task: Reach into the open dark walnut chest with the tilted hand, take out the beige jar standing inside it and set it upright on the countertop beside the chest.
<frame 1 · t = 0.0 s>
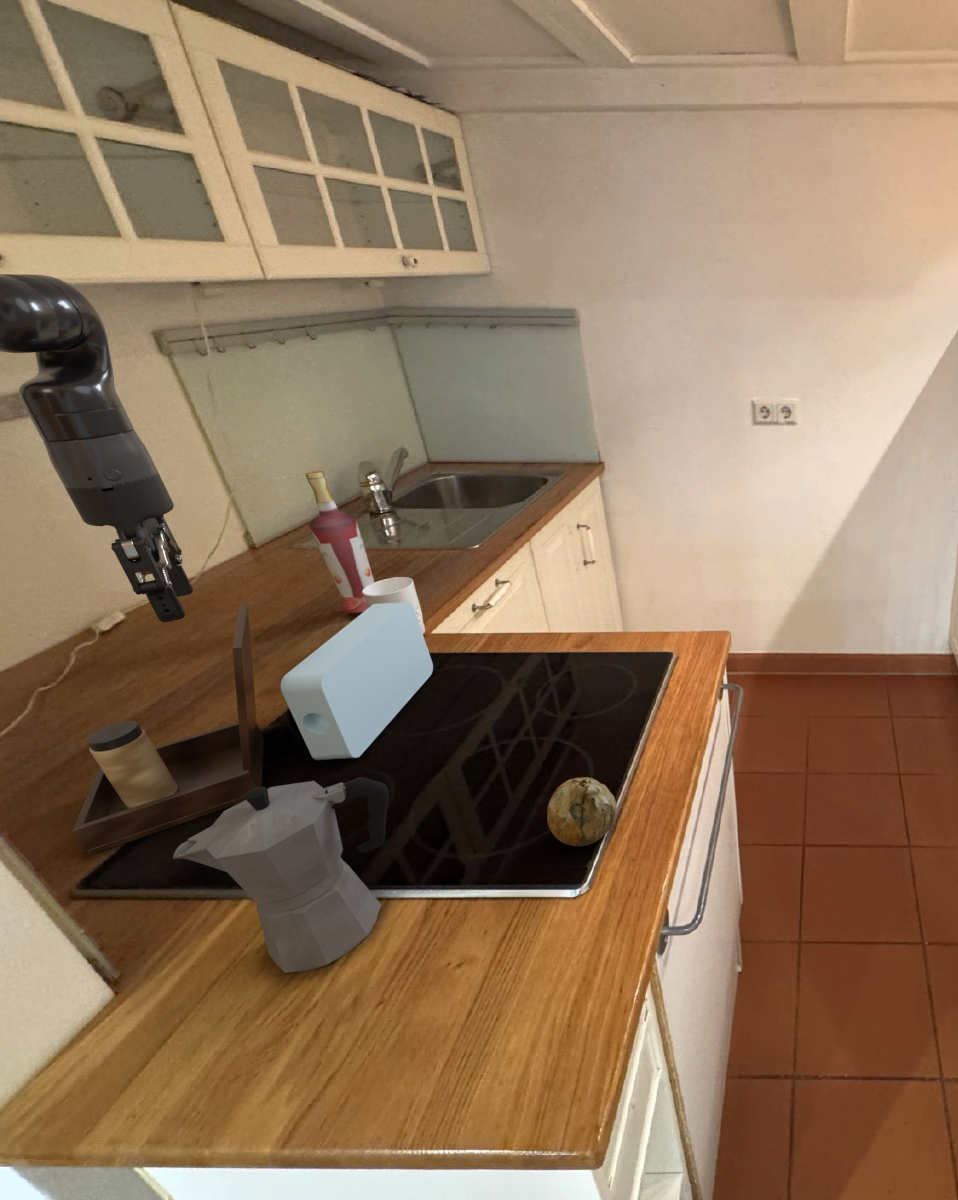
hand: (178, 606, 79), 23 cm above the worktop, tool pointing down, fingers open, 8 cm apart
coffeepot: (342, 926, 65), on the worktop
onion: (589, 832, 75), on the worktop
chest: (187, 791, 84), on the worktop
chest lid: (245, 684, 83), point 12 cm above the worktop, hinge at 105.0°
pale blue rectangular block: (382, 713, 98), on the worktop
beige jar: (152, 796, 82), point 1 cm above the worktop, touching chest
liquor: (366, 611, 130), on the worktop
white cup: (405, 636, 120), on the worktop
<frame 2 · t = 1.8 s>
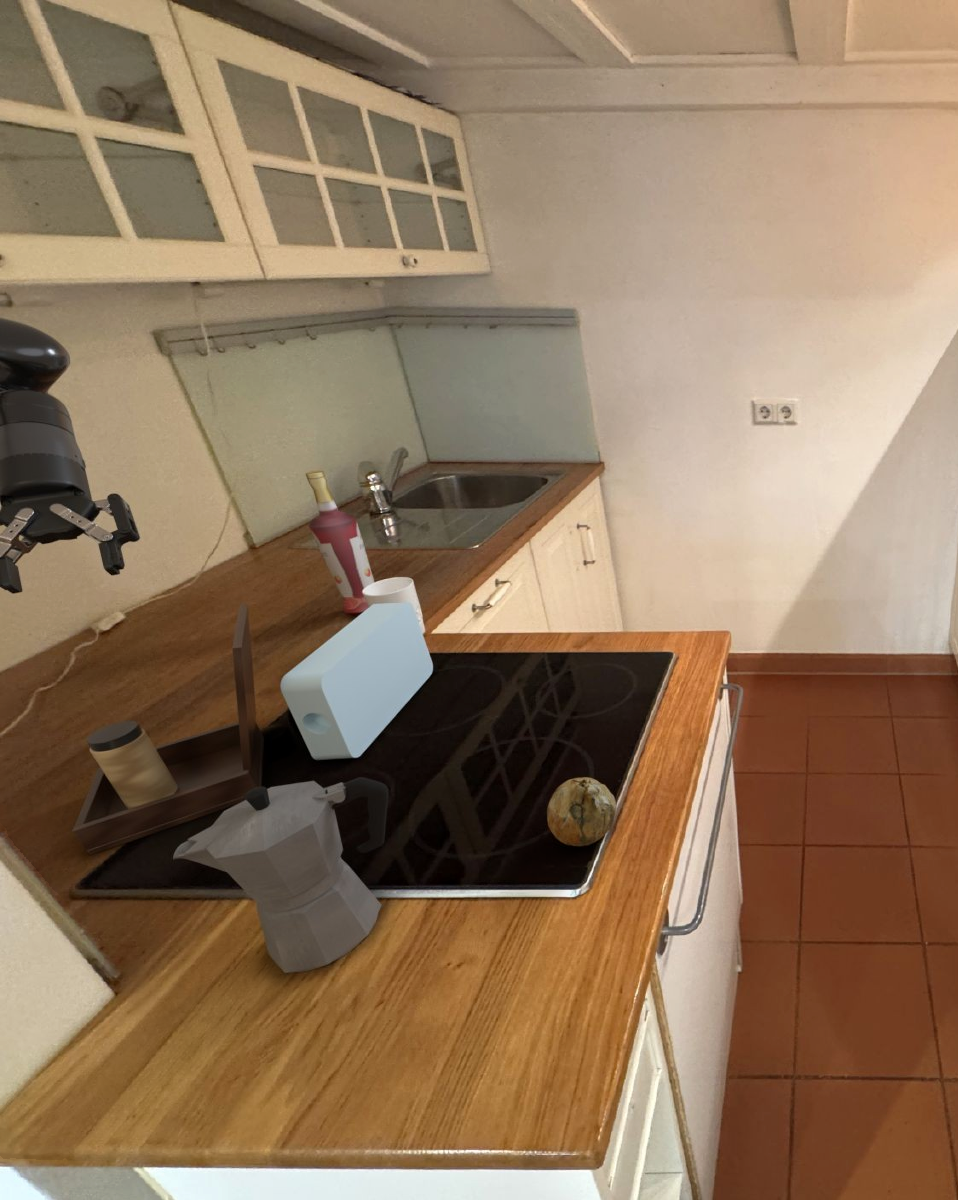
hand: (64, 581, 79), 26 cm above the worktop, tool tilted 45°, fingers open, 8 cm apart
nothing on the worktop moved.
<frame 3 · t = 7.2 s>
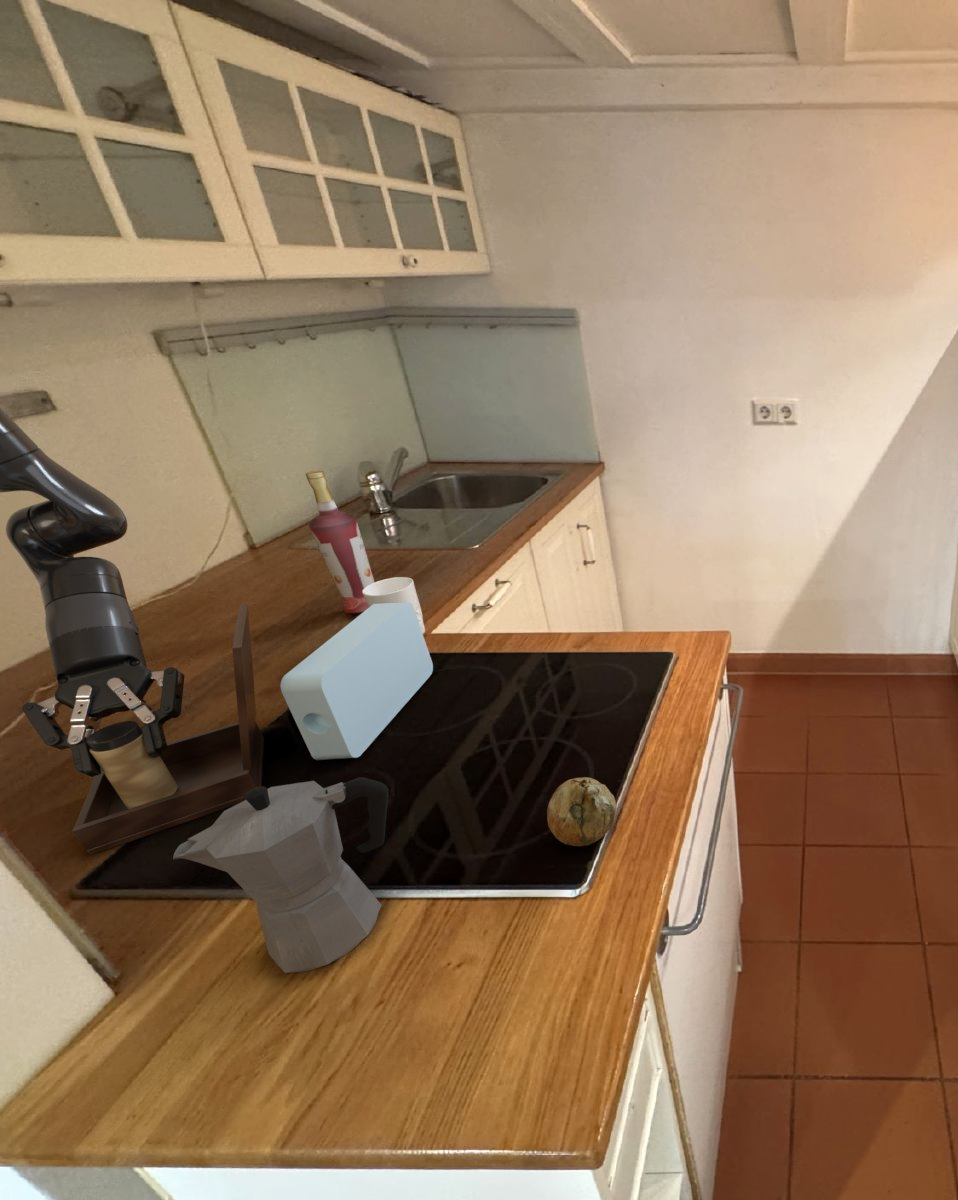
hand: (125, 764, 77), 7 cm above the worktop, tool tilted 45°, fingers closed on beige jar, 5 cm apart
beige jar: (152, 796, 82), point 1 cm above the worktop, touching chest, gripper
everything else where it was.
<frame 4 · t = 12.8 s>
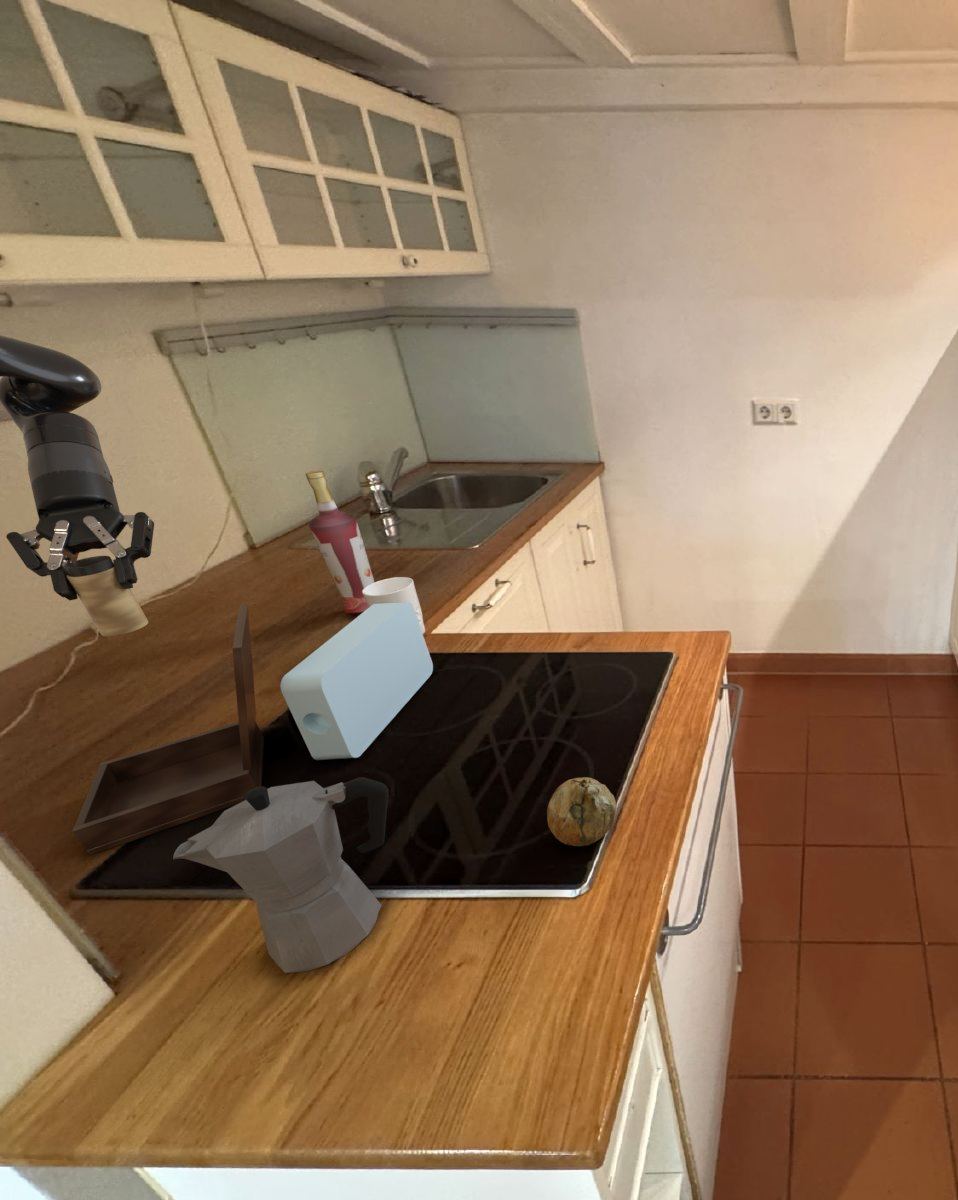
hand: (98, 591, 86), 22 cm above the worktop, tool tilted 45°, fingers closed on beige jar, 5 cm apart
beige jar: (125, 628, 91), point 16 cm above the worktop, touching gripper
everything else where it was.
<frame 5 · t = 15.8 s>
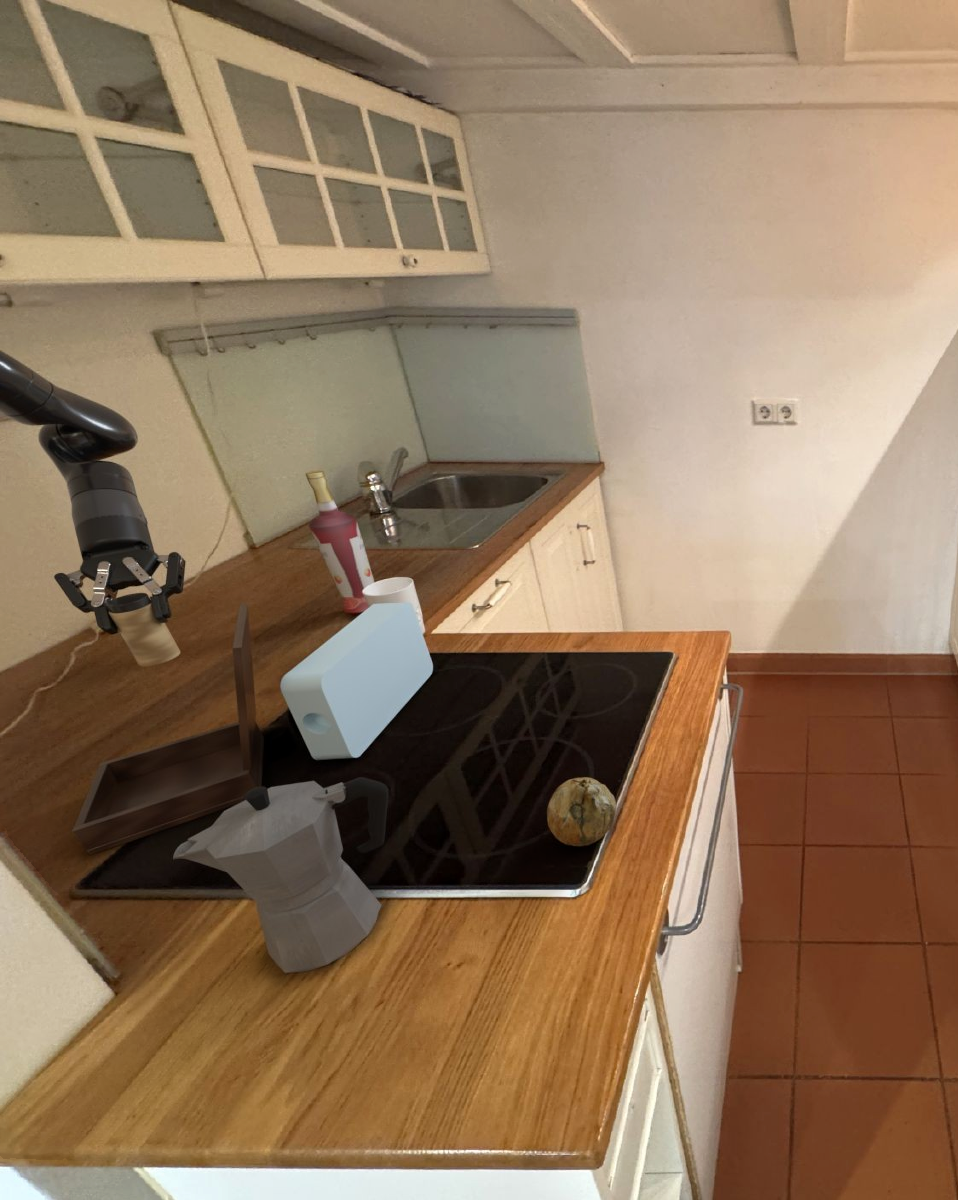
hand: (137, 626, 95), 14 cm above the worktop, tool tilted 45°, fingers closed on beige jar, 5 cm apart
beige jar: (159, 658, 99), point 8 cm above the worktop, touching gripper
everything else where it was.
when the fingers open (6 cm above the worktop, at t = 18.4 s): beige jar stays where it is, on the worktop.
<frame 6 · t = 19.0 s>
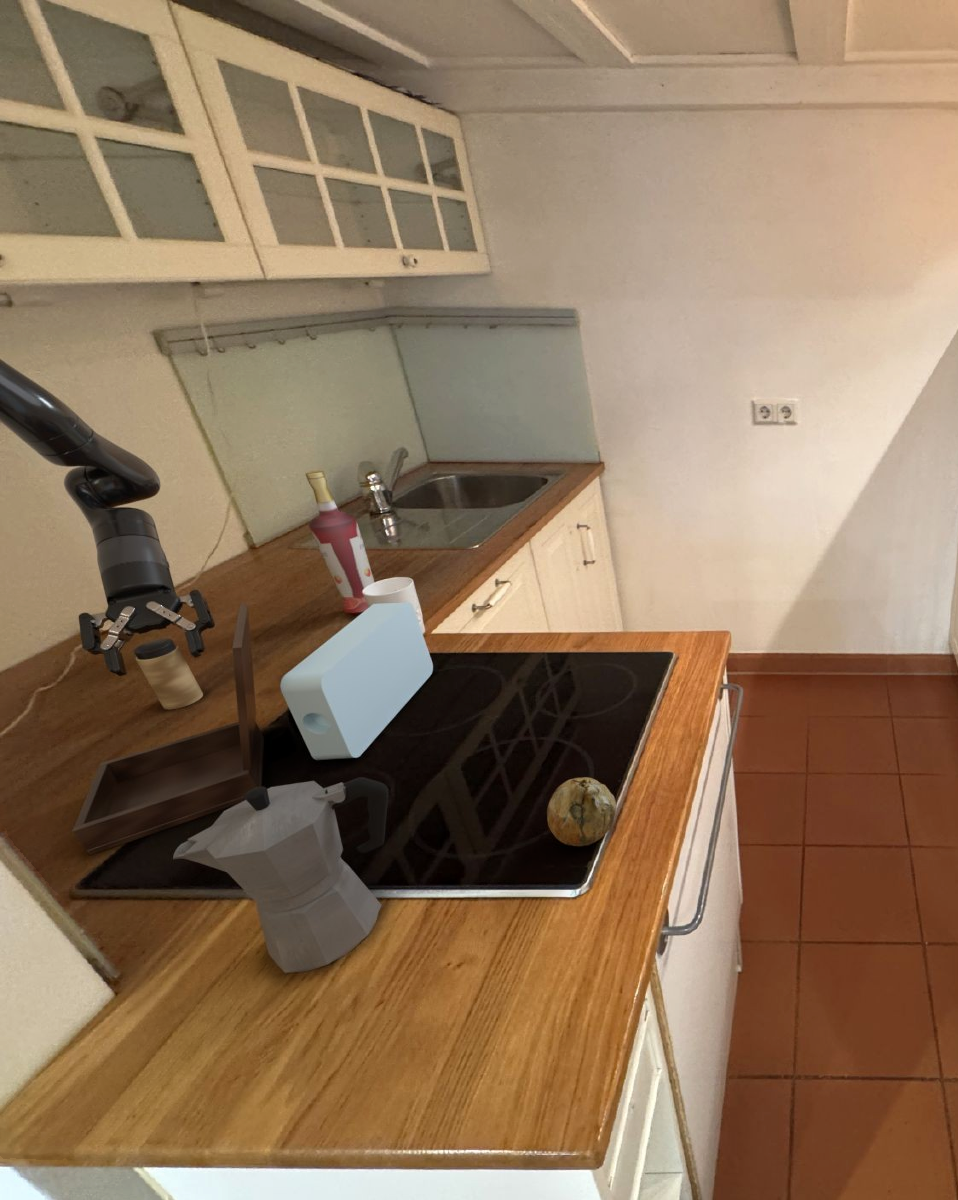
hand: (159, 664, 98), 7 cm above the worktop, tool tilted 45°, fingers open, 8 cm apart
beige jar: (183, 700, 103), on the worktop
everything else where it was.
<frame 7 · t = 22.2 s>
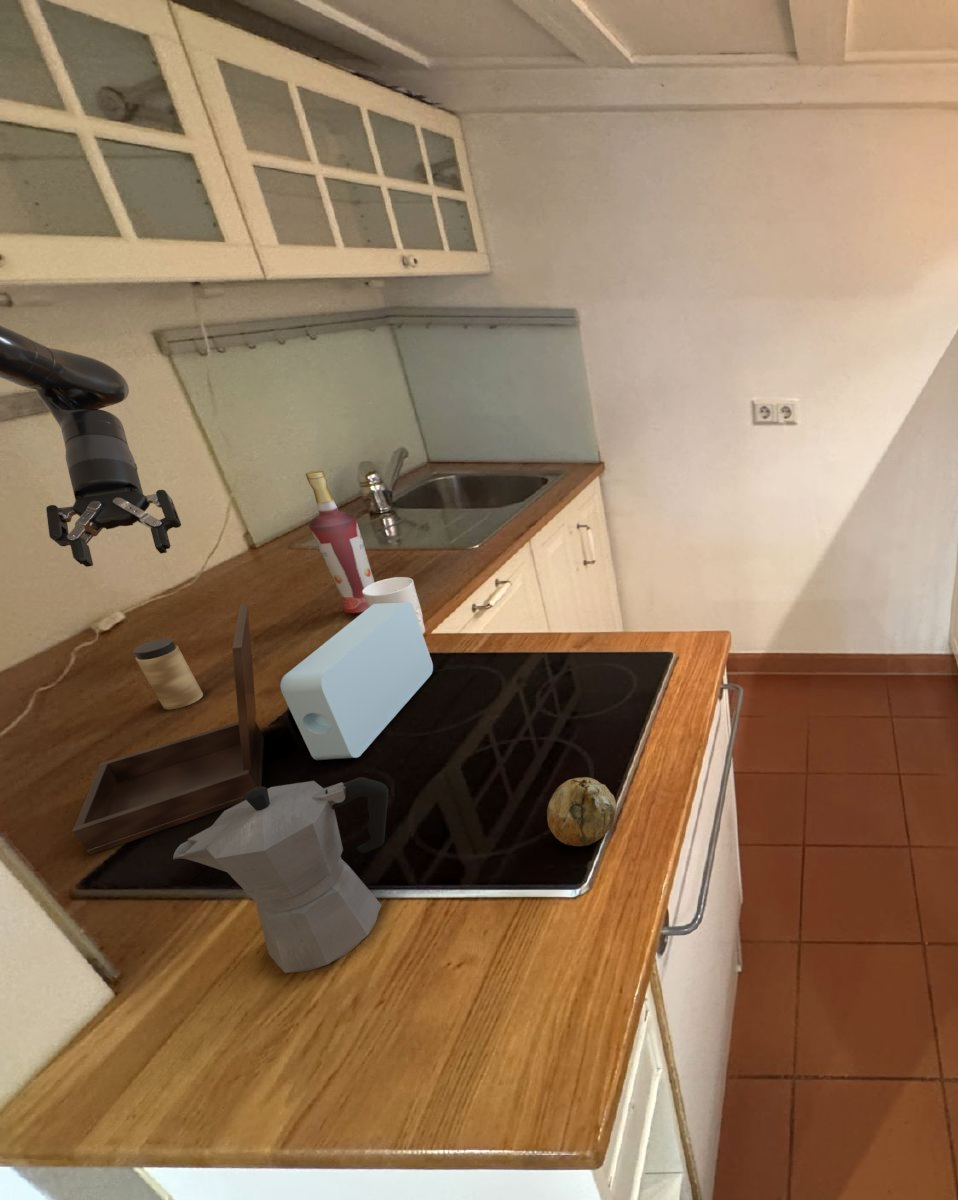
hand: (125, 557, 101), 21 cm above the worktop, tool tilted 45°, fingers open, 8 cm apart
nothing on the worktop moved.
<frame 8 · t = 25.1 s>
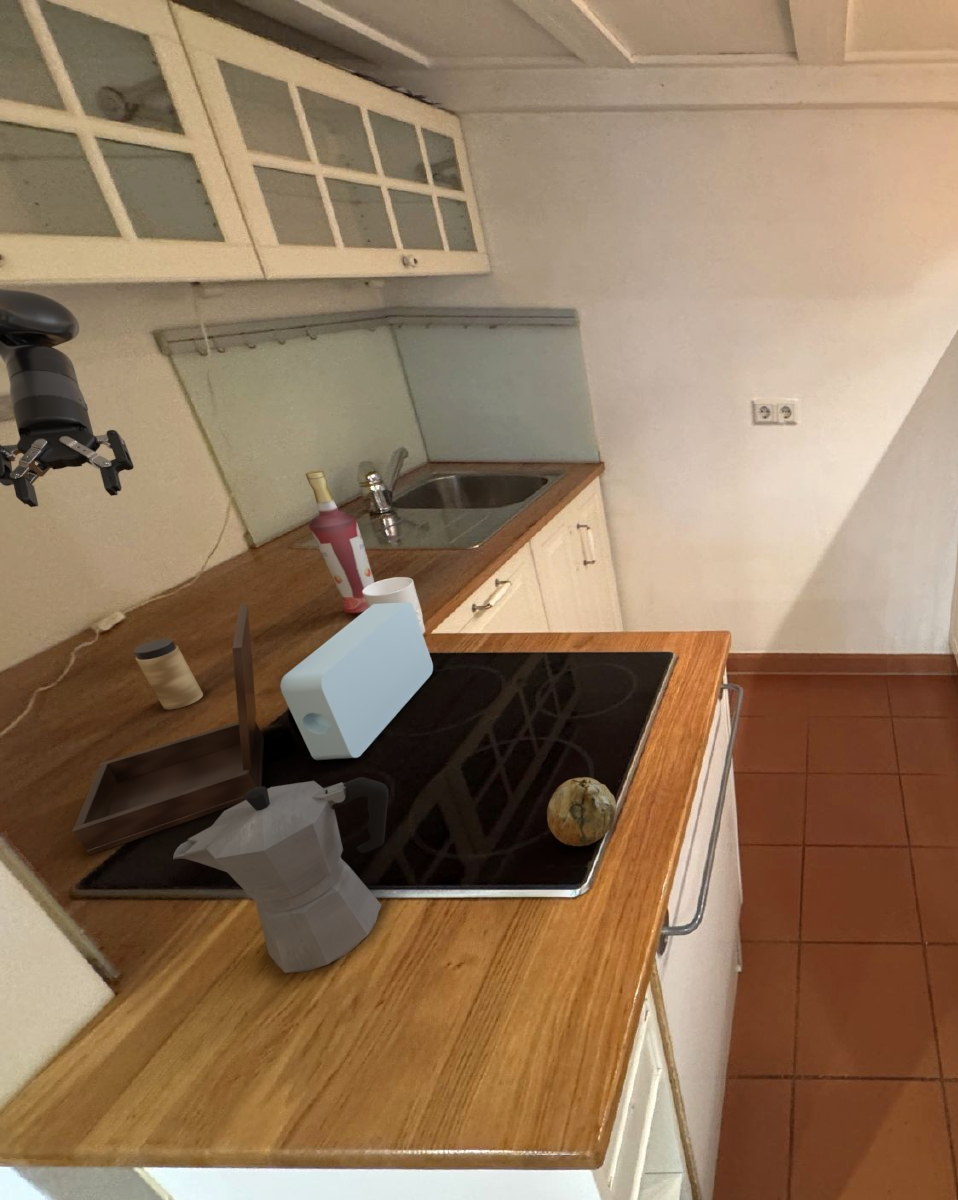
hand: (72, 498, 97), 31 cm above the worktop, tool tilted 45°, fingers open, 8 cm apart
nothing on the worktop moved.
at the end: beige jar inside the target area (0.1 cm from its centre), on the worktop; beige jar tilted 0°; the gripper is holding nothing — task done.
